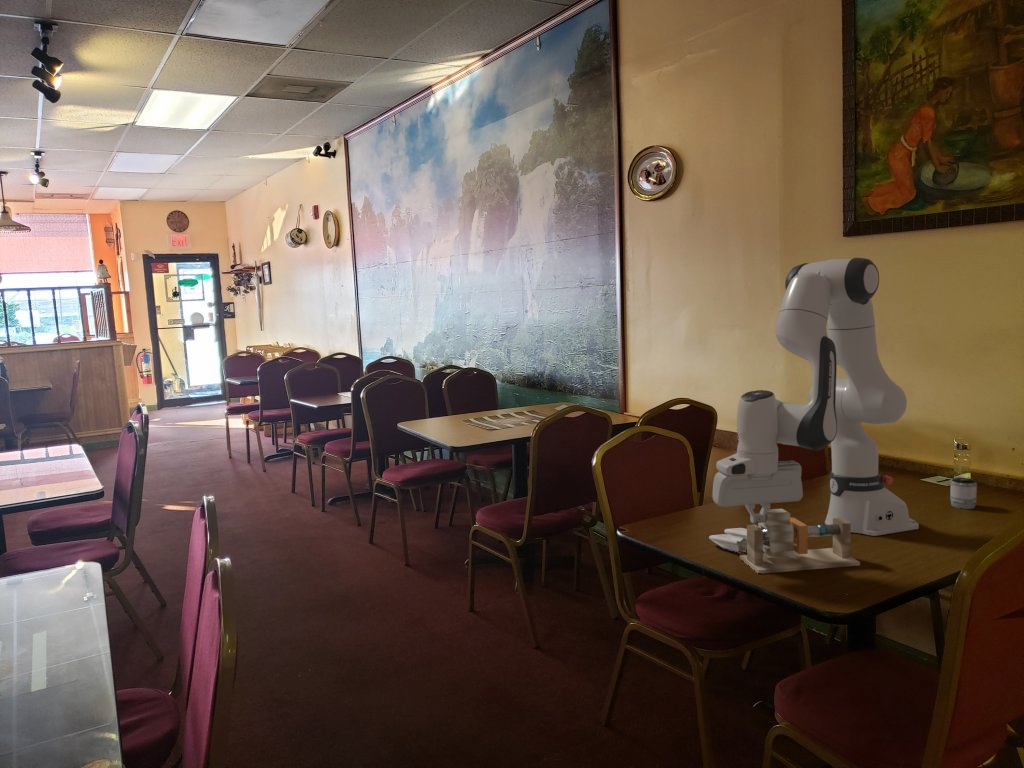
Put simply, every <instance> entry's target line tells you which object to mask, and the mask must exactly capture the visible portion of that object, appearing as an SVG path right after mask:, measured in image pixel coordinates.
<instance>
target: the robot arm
mask: <svg viewBox="0 0 1024 768" xmlns="http://www.w3.org/2000/svg"><path fill="white" fill-rule="evenodd" d="M784 282H785V285H784V286H785V292H784V294H783V298H782V299H781V304H780V306H779V310H778V314H777V318H776V323H775V337H776V339H777V340H778V342H779V344H780V346H782V348H784V349H785V350H786V351H788V352H789V353H791V354H793V355H795V356H797V357H799V358H801V359H804V360H807V362H809V364H810V366H811V370H812V375H811V387H810V389H809V392H808V396H807V397H808V403H806V404H804V403H794V402H793V403H791V402H785V401H781V400H779V399H777V398H776V395H775V393H774V392H773V391H770V390H764V389H759V390H750V391H747V392H745V393H743V394H742V395H741V396H740V397H739V402H738V406H737V414H736V431H737V435H738V442H737V448H736V453H733V454H731V455H729V456H728V457H724V458H722V459H720V460H718V461H716V464H715V465H716V469H717V470H718V472H716V473H715V474H714V477H713V484H712V501H713V502H714V503H715V504H716V505H717V506H719V507H721V508H722V507H724V508H725V507H734V506H745V509H746V510H747V513H749V514H750V515H749V519H750V523H752V524H758V523H762V522H765V521H766V514H767V513H768V511H769V510H770V509H771V504H777V503H791V502H792V503H793V502H800V501H801V500H802V499H803V497H804V492H803V490H804V489H803V482H802V478H801V477H802V466H801V464H800V463H799V462H797V461H795V460H787V461H786V460H780V461H779V447H778V444H782V445H786V446H794V447H801V448H802V449H808V450H813V451H816V452H817V451H818V452H819V451H820V450H823V449H824V448H826V447H827V446H829V445H830V448H831V450H830V451H831V471H829V489H830V490H829V492H830V497H829V499H830V500H829V505H828V509H827V514H826V518H825V520H824V525H830V524H833V519H835V518H842V519H844V520H846V521H848V522H850V523H851V533H855V534H856V533H857V534H863V535H867V536H872V537H873V536H874V537H876V536H877V537H878V536H882V535H888V534H895V533H901V532H902V533H903V532H908V531H915V530H919V528H920V527H919V522H917V521H916V520H914V519H912V518H910V515H909V509H908V506H907V503H906V502H905V501H904V500H902V499H901V498H900V497H899V496H897V495H896V494H895V493H893V492H891V491H890V489H888V488H886V486H885V484H887V485H892V483H893V482H894V478H893V477H892V476H889V475H887V474H885V475H883V474H881V473H879V446H878V443H877V442H876V440H874V438H873V437H871V436H870V435H868V433H867V432H866V431H865V429H864V427H863V424H862V423H866V424H872V425H881V424H892V423H896V422H898V421H899V420H900V419H901V418H902V417H903V416H904V414H905V412H906V410H907V405H908V404H907V403H908V400H907V396H906V393H905V392H904V390H903V389H902V388H901V387H900V386H899V385H898V384H896V382H894V381H893V379H892V378H890V376H889V375H888V374H887V372H886V370H885V369H884V367H883V365H882V363H881V360H880V356H879V353H878V346H877V345H878V344H877V335H876V320H875V313H874V305H873V302H872V301H873V300H872V298H873V297H874V296H875V294H876V292H877V290H878V288H879V285H880V273H879V270H878V266H877V265H876V264H875V263H874V262H873V261H872V260H871V259H869V258H864V257H853V258H829V259H827V260H820V261H815V262H810V263H808V262H806V263H805V262H804V263H801V264H798V265H795V266H793V267H792V269H790V271H789V272H788V273H787V275H786V278H785V281H784ZM837 366H839V367H840V368H841V369H842V371H843V372H844V374H845V376H846V378H845V377H843V378H842V377H837ZM756 505H760V506H761V509H760V511H759V512H757V513H755V511H754V510H755V509H756Z"/></svg>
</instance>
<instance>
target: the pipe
mask: <svg viewBox="0 0 1024 768" xmlns="http://www.w3.org/2000/svg"><path fill="white" fill-rule="evenodd" d="M807 526H808V538H815V537H816V538H817V537H818V538H819V537H820V538H822V537H827V536H828V537H830V536H832V537H833V535H839V534H840V532H841V530H840V527H839V525H838V524H830V525H826V524H816V525H807ZM793 538H796V539H797V529H796V528H794V527H793ZM767 540H770V531H768V530H767V529H765V530H763V541H767Z"/></svg>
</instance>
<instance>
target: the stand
mask: <svg viewBox="0 0 1024 768" xmlns="http://www.w3.org/2000/svg"><path fill="white" fill-rule="evenodd" d="M833 524H838V525H839V527H840V530H841V532H840V534H839V535H832V547H828V548H816V549H815V548H813V549H808V554H798V553H797V552H795V551H794V556H790V557H778V558H772V557H770V556H769V555H768V554H766V553H765V552H764V551H763V529H761V528H760V527H758V525H757V524H746V529H747V552H746V554H739V559H740V560H741V561H742V560H743V561H744V562H743V561H742V562H743V563H745V564H746V565H747V566H748V565H749V566H750V568H751V569H752V570H753V571H754V570H755V571H754V572H755V573H757V574H758V573H761V574H773V573H785V572H794V571H795V572H797V571H806V570H808V571H809V570H819V569H831V568H832V569H833V568H845V567H855V566H857V567H858V566H861V562H860V560H857V559H856V558H854V557H853V556H851V547H852V545H851V541H852V540H851V537H852V536H851V533H852V532H851V523H850V522H848V521H846V520H844V519H842V518H835V519H833ZM749 566H748V567H749Z"/></svg>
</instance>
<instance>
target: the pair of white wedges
mask: <svg viewBox="0 0 1024 768" xmlns="http://www.w3.org/2000/svg"><path fill="white" fill-rule="evenodd" d="M708 539H709V540H710V541H712V542H713V543H715V544H716V545H717V546H719V547H720V548H722V549H723V550H726V549H727V551H730V552H733V551H734V552H733V553H736V552H737V553H736V554H741V552H739V551H743V552H745V553H747V551H746V550H747V528H743V527H737V528H736V527H734V528H725V529H724V534H712V535H709V537H708ZM742 549H745V550H742Z"/></svg>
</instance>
